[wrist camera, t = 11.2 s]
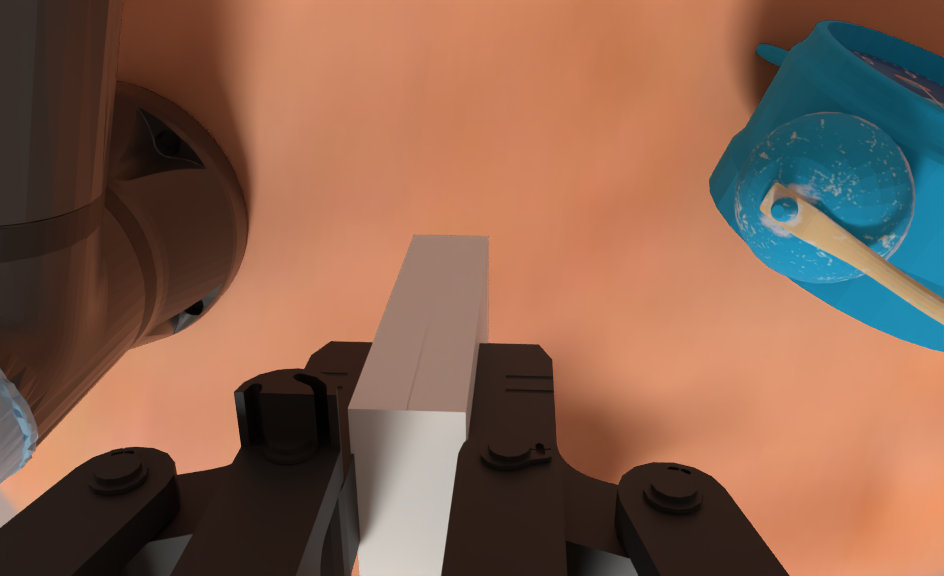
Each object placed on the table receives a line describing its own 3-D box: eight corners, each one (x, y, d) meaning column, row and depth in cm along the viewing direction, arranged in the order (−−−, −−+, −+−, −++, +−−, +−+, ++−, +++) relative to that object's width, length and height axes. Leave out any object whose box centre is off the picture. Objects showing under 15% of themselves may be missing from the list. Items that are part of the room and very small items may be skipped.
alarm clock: (1036, 98, 43) (1421, 223, 24) (924, 271, 47) (1180, 490, 28) (741, -24, 41) (912, 11, 23) (651, 165, 45) (735, 324, 27)
